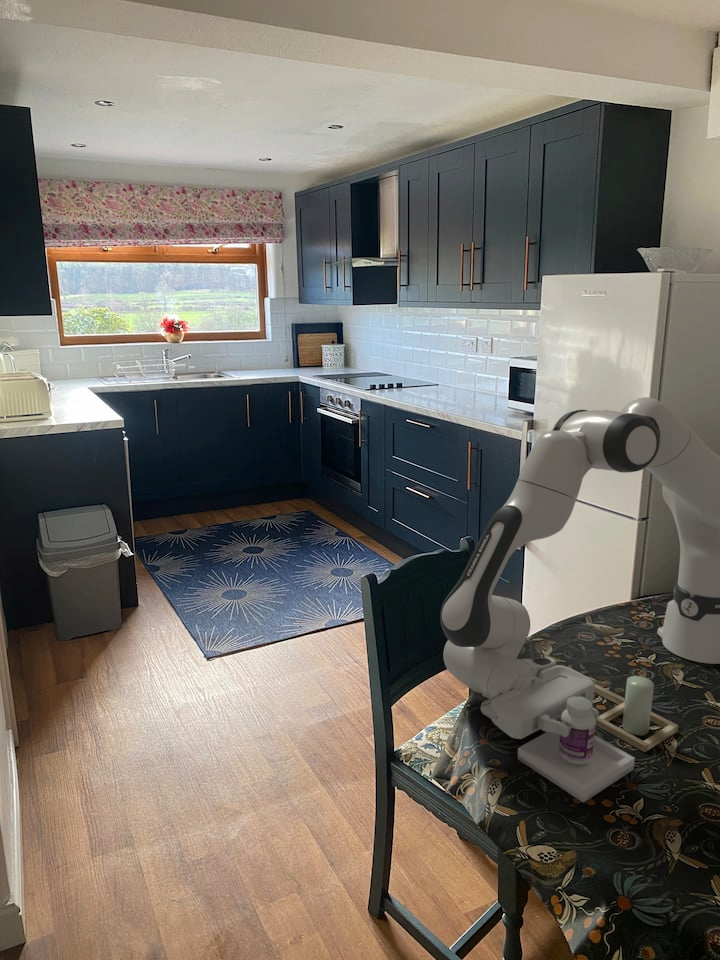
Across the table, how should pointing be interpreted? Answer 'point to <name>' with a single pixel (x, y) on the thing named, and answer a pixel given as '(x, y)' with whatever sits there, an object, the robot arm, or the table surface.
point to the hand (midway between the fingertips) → (583, 724)
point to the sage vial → (638, 705)
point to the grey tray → (576, 765)
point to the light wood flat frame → (625, 736)
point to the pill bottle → (578, 731)
